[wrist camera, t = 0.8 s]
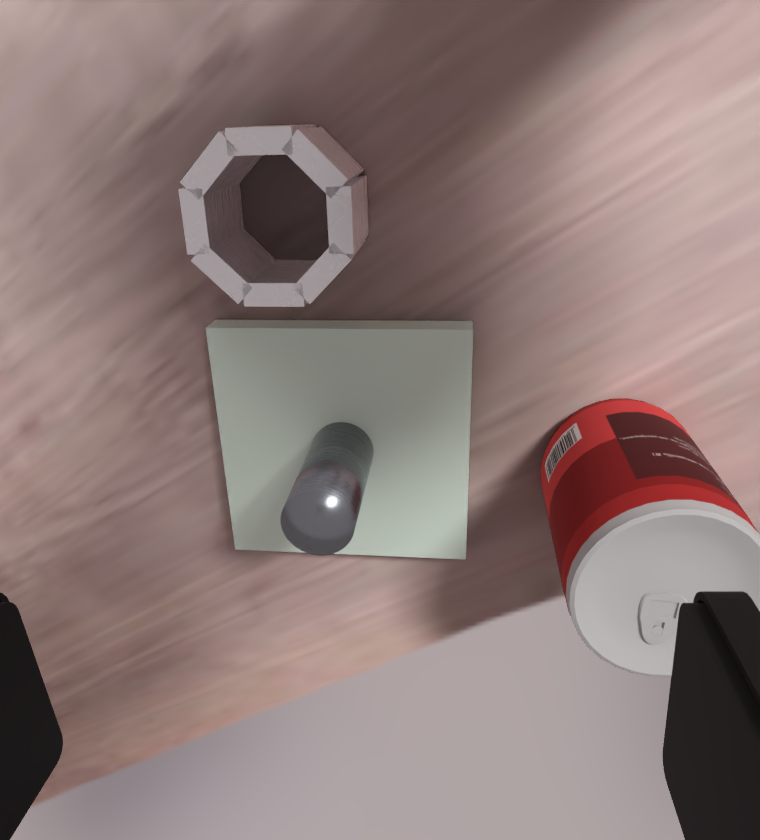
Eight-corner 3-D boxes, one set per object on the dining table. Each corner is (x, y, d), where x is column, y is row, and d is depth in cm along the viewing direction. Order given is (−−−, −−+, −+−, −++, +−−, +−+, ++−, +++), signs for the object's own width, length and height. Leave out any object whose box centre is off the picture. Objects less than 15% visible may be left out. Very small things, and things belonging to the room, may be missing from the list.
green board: (215, 319, 35) (205, 327, 33) (472, 320, 33) (473, 329, 32) (242, 534, 40) (235, 549, 39) (465, 543, 39) (465, 559, 37)
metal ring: (212, 127, 31) (169, 129, 26) (365, 122, 30) (348, 124, 26) (229, 280, 34) (194, 306, 29) (370, 280, 33) (355, 306, 29)
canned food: (548, 536, 38) (579, 687, 28) (528, 406, 35) (555, 524, 25) (693, 518, 37) (781, 670, 27) (685, 380, 34) (781, 494, 24)
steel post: (310, 421, 35) (277, 490, 29) (372, 422, 35) (353, 492, 28) (314, 476, 36) (283, 553, 30) (374, 478, 36) (355, 556, 30)
